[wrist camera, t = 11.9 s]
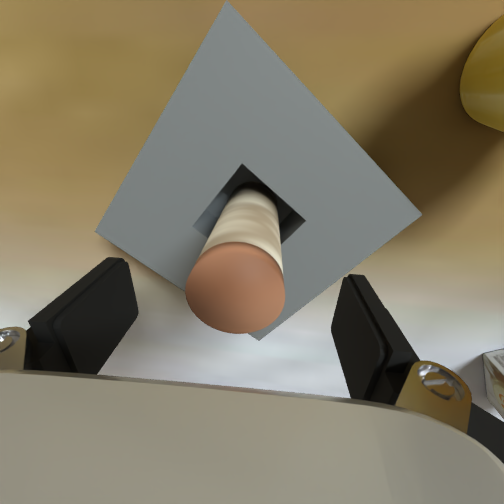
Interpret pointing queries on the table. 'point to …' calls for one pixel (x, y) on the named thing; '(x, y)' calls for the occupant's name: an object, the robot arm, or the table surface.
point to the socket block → (253, 171)
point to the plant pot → (485, 78)
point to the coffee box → (495, 379)
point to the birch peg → (240, 265)
